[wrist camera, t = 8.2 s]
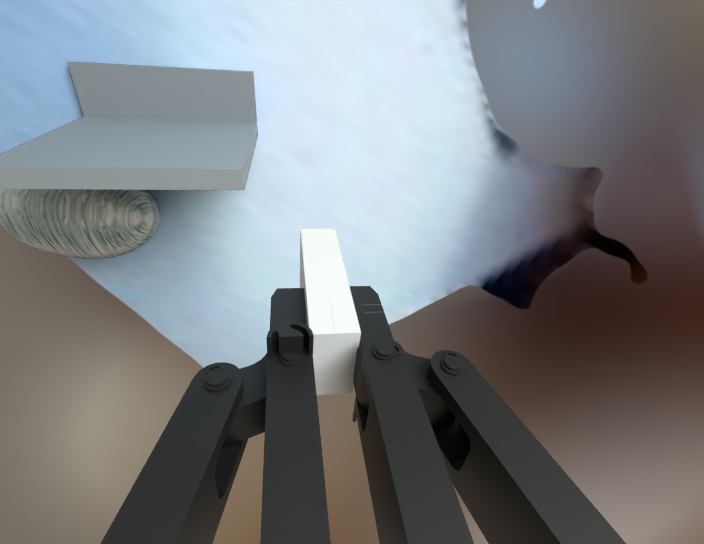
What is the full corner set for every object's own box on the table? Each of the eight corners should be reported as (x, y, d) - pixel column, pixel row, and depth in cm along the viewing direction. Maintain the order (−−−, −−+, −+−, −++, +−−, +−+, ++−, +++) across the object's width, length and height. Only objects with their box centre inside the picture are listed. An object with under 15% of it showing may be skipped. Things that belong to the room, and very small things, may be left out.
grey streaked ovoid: (6, 247, 39) (-33, 256, 30) (11, 154, 38) (-29, 136, 29) (154, 258, 45) (157, 268, 37) (161, 179, 45) (165, 171, 36)
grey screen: (71, 61, 34) (-66, 84, 21) (253, 71, 36) (235, 97, 23) (92, 130, 37) (-15, 188, 24) (257, 135, 40) (244, 190, 26)
